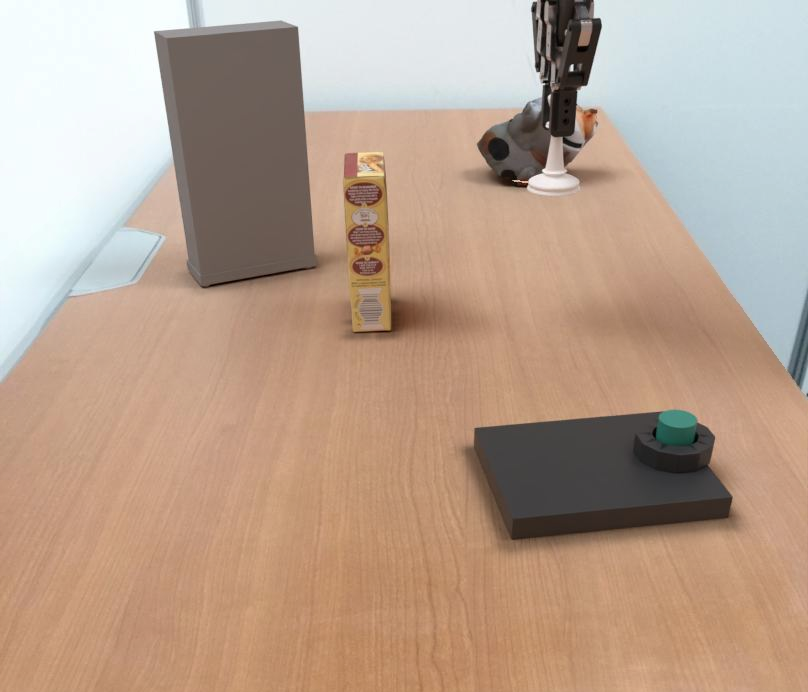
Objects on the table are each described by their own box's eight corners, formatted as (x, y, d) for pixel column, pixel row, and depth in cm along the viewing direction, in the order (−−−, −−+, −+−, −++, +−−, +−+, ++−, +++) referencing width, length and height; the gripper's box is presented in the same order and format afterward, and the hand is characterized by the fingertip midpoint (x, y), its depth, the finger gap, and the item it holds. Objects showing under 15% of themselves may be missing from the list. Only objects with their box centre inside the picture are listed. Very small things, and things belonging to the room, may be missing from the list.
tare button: (685, 428, 73) (688, 407, 72) (699, 446, 71) (703, 425, 70) (650, 431, 73) (653, 411, 72) (663, 449, 71) (667, 429, 70)
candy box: (392, 332, 96) (388, 175, 87) (350, 333, 96) (341, 176, 87) (389, 298, 103) (385, 150, 94) (350, 300, 103) (342, 151, 94)
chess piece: (550, 178, 92) (557, 64, 87) (590, 188, 89) (600, 71, 84) (516, 189, 90) (520, 72, 84) (556, 200, 87) (564, 79, 81)
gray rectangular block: (299, 252, 116) (279, 19, 101) (317, 267, 111) (300, 26, 97) (187, 271, 111) (150, 30, 97) (201, 288, 107) (165, 38, 92)
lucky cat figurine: (540, 158, 148) (590, 75, 138) (573, 208, 143) (626, 126, 133) (462, 141, 140) (508, 52, 131) (492, 194, 135) (543, 105, 125)
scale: (672, 430, 79) (679, 392, 77) (739, 517, 69) (749, 476, 67) (473, 448, 77) (474, 409, 75) (511, 540, 67) (514, 499, 65)
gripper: (646, -95, 71) (621, 148, 81) (591, -102, 82) (575, 113, 93) (548, -92, 71) (536, 154, 81) (506, -99, 82) (499, 117, 92)
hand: (557, 131), depth 87 cm, fingers closed on chess piece
